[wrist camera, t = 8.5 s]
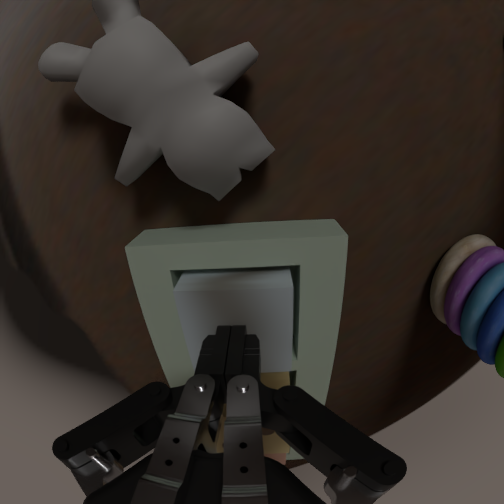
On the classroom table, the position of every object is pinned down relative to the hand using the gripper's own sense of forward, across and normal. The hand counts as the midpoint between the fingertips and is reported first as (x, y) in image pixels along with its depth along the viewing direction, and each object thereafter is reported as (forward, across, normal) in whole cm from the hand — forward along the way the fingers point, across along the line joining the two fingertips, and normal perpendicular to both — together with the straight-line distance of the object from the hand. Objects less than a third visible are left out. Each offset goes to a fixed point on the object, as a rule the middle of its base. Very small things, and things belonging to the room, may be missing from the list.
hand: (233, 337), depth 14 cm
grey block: (+4, 0, 0) cm, 4 cm away
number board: (+5, 0, +8) cm, 9 cm away
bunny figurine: (+5, +4, -14) cm, 15 cm away
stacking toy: (+5, -18, 0) cm, 19 cm away
